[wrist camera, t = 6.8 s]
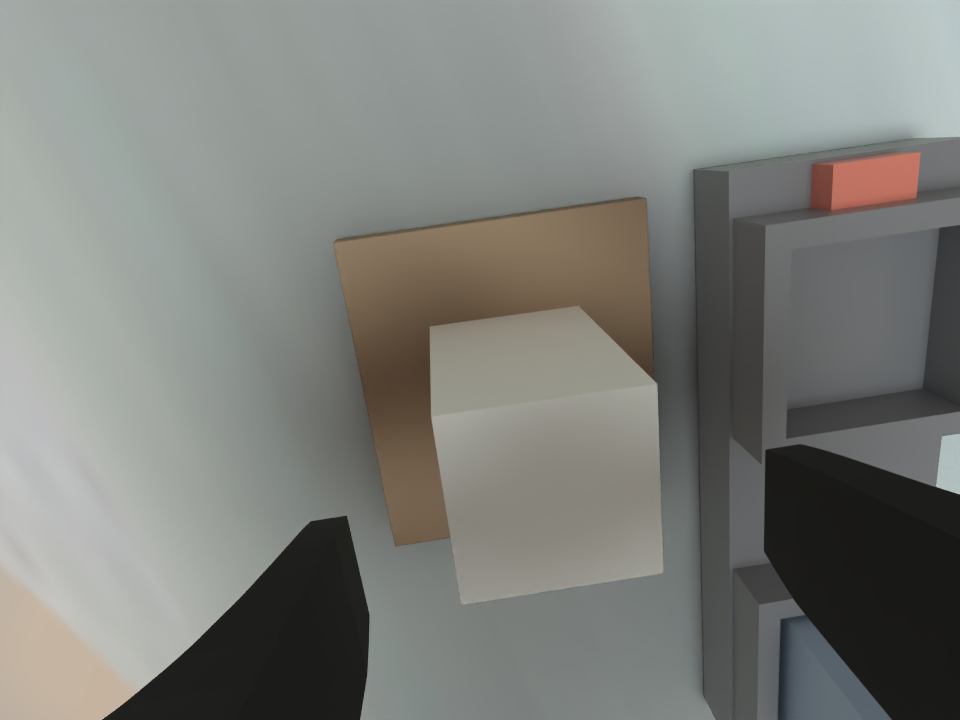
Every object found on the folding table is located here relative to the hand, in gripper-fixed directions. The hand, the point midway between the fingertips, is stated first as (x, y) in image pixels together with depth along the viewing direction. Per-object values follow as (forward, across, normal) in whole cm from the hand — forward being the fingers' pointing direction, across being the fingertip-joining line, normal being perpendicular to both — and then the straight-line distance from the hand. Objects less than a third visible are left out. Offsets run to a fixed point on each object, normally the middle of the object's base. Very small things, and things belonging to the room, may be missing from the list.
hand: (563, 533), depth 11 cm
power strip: (+8, -9, +7) cm, 13 cm away
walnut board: (+8, 0, 0) cm, 8 cm away
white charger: (+7, 0, 0) cm, 7 cm away
